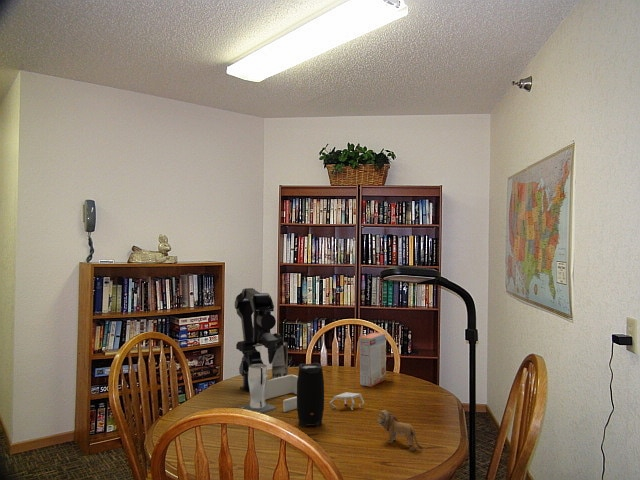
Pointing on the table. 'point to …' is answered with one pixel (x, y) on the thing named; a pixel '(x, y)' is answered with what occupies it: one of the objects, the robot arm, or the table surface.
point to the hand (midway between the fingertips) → (260, 365)
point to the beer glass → (257, 385)
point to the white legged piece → (347, 395)
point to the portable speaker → (310, 394)
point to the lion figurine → (397, 428)
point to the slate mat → (267, 408)
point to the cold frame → (283, 390)
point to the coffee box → (280, 362)
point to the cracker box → (372, 359)
